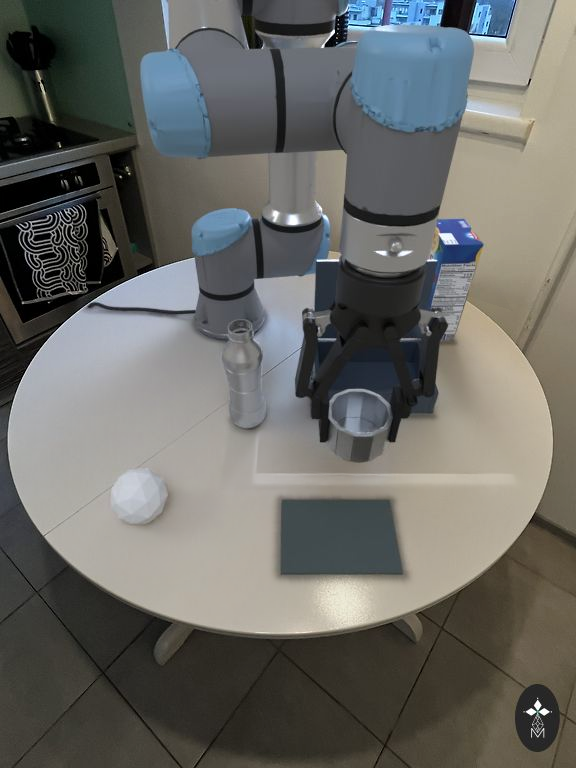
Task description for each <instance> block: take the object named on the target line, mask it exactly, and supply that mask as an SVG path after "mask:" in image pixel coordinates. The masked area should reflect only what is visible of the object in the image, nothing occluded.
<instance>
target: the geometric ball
mask: <svg viewBox="0 0 576 768" xmlns="http://www.w3.org/2000/svg"><path fill="white" fill-rule="evenodd" d="M168 497H169V492H168V486H167V484H166V481H165V480H164V478H163V477H162V476H161V475H159V474H158V473H157V472H155V471H154V470H152V469H151V468H149V467H145V468H144V467H143V468H142V467H141V468H130V469H129V470H127V471H125V472H124V473H123V474H122V475H120V476H119V477H118V478H117V479H116V480H115V482H114V484H113V485H112V487H111V489H110V501H109V506H110V508H111V510H112V511H113V512H114V513H115V515H116V516H117V518H118V519H119V520H120V521H123V522H125V523H127V524H129V525H148V524H150V522H152V521H153V520H154V519H156V518H157V517H159V516H160V515H161V514H163V511H164V509H165V507H166V503H167V500H168Z"/></svg>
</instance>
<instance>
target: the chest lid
mask: <svg viewBox="0 0 576 768" xmlns="http://www.w3.org/2000/svg"><path fill="white" fill-rule="evenodd" d="M338 261H339V259H327V260H316V274H314V301H313V303H314V305H313V310H314V312H320V311H325V310H329V308H330V306H331V305H332V303H333V302H334V300H335V297H336V286H337V274H338ZM437 264H438V261H437V260H427V262H426V266H427V270H426V275H425V279H424V283H423V288H422V292H421V297H420V301H419V304H418V307H419V309H421V310H426V311H427V310H428V306H429V301H430V296H431V292H432V287H433V282H434V278H435V273H436V268H437ZM337 334H338V331H337V330H336V329H335V328H334V326H333V325H332V324H329V325H327V326H326V328H325V332H324V333H323V335H322V336H321V337H318V339H336V337H337ZM402 339H421V330H420V327H419V324H417V325H416V326H415V327H414V328H413V329H411V330H410V331H409V332H408V333H407V334H406V335H405V336H404V337H403V338H402Z"/></svg>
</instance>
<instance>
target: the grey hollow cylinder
mask: <svg viewBox="0 0 576 768" xmlns="http://www.w3.org/2000/svg"><path fill="white" fill-rule="evenodd" d="M329 403H330V405H329V416H328V428H327V439H326V443H325V444H326V445H327V447H328V448H329V450H330V451H331V452H332V453H333V454H334V455H335V456H336V457H338V458H339V459H341V460H343V461H346V462H350V463H354V464H355V463H358V464H360V463H362V464H363V463H368V462H371V461H373V460H375V459H377V458H378V457H379V456H381V455H382V454H383V453H384V451H385V449H386V448H387V446H388V443H389V441H388V439H389V435H390V431H391V426H392V422H393V414H392V409H391V405H390V404H389V403H388V402H387V401H386V400H385V399H384V398H383V397H382V396H381V395H379V394H377V393H374V392H371V391H368V390H366V389H347V390H344V391H342V392H340V393H337V394H335V395H334V396H333V397H332V399H331V400H330V401H329Z"/></svg>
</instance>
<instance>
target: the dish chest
mask: <svg viewBox="0 0 576 768" xmlns="http://www.w3.org/2000/svg"><path fill="white" fill-rule="evenodd" d="M335 341H336V339H318V348H317V352H316V357H315V361H314V365H313V369H312V379H313V378H314V377H315V375H316V373H317V372H318V370H319V368H320V367H321V365H322V363H323V361H324V360H325V358H326V356H327V355H328V353H329V351H330V349H331V348H332V346H333V344H334V343H335ZM400 342H401V346H402V349H403V353H404V356H405V360H406V363H407V366H408V370H409V373H410V377H411V380H416V379H418V373H419V359H420V345H421V339H400ZM393 386H400V388H401V385H400V382H399V379H398V376H397V372H396V369H395V366H394V363H393V360H392V357H391V354H390V351H389V348H387V350H377V349H373V348H371V349H366V350H357V351H356V352H355V354H354V355H353V357H352V358H351V359H348V361H347V362H346V364H345V366H344V367H343V369H342V370H341V372H340V373H339V375H338V377H337V378H336V380H335V381H334V383H333V385H332V386H331V388H330V389H329V391H328V393H329V401H330V400H331V399H332V397H333V396H334V395H335V394H337V393H340V392H342V391H344V390H347V389H366V390H368V391H371V392H374V393H377V394H379V395H381V396H382V397H383V398H384V399H385V400H386V401H387V402H388V403H389V404H390V400H391V395H392V391H393ZM439 394H440V392H439V389H438V386H437V382H436V383H435V393H434V395H433V396H431V397H424V396H423V395H422V396H419V397H417V401H418V403H417V405H416V406H414V407H412V409H411V413H410V414H433V412H434V410H435V407H436V403H437V400H438V397H439Z"/></svg>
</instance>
